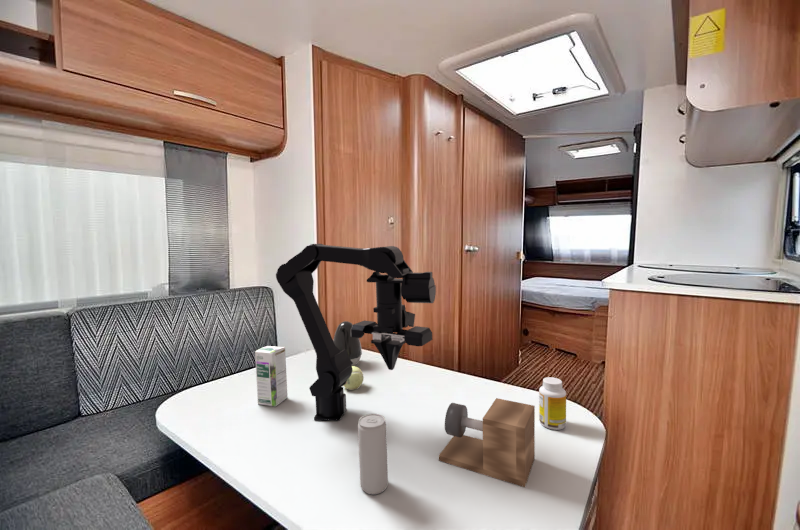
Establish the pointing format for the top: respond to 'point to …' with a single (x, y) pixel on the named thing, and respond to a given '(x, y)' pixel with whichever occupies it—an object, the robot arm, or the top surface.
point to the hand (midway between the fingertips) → (391, 369)
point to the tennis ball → (354, 379)
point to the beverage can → (373, 453)
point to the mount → (498, 444)
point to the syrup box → (271, 375)
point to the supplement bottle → (552, 404)
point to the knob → (460, 420)
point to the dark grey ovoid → (348, 342)
